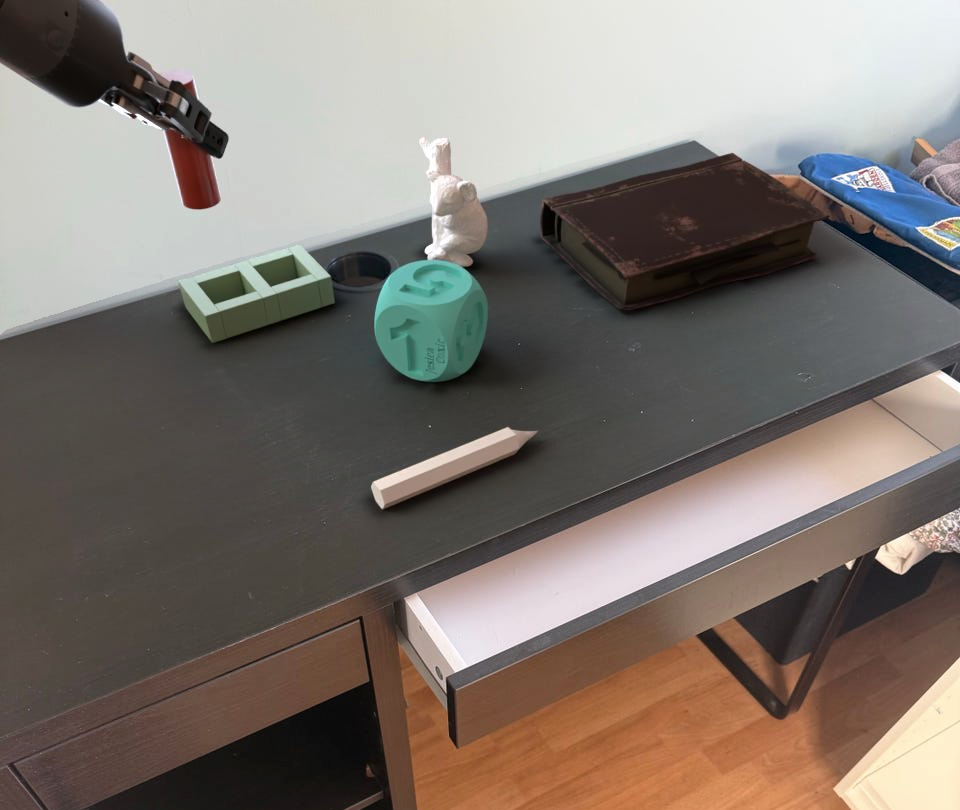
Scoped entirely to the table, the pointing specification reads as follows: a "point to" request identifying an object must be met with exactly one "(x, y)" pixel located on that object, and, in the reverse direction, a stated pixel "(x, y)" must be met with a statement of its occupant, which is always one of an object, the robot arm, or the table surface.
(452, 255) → the koala figurine
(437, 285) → the decorative dice
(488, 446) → the unpainted wooden pencil
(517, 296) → the table surface
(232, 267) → the two-slot green holder
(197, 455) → the table surface
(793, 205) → the diary
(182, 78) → the peg
